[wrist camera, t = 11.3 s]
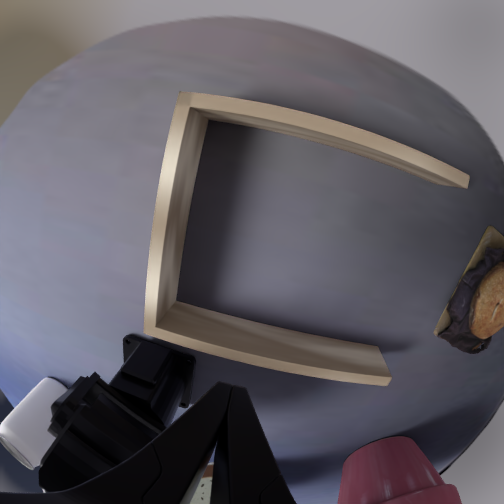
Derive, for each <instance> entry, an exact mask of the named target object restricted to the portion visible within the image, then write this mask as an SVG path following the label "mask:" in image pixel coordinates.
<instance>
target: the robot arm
mask: <svg viewBox="0 0 504 504" xmlns="http://www.w3.org/2000/svg"><path fill="white" fill-rule="evenodd" d="M128 340H129V341H130V342H129V341H128ZM123 355H124V364H123V365H122V367H121V369H120V370H119V371H118V373H117V374H116V375H115V376H114V378H113V379H112V380H111V382H110V383H109V384H107V383H106V382H105V381H103V380H102V379H101V378H100V376H99V375H98V374H97V373H96V372H94V373H93V374H92V375H91V376H90V377H88V376H87V377H82V376H80V377H79V379H78V380H77V381H76V382H75V383H74V384H73V385H72V386H71V388H70V389H69V390H67V391H66V392H65V393H64V394H63V395H61V396H60V397H59V398H58V399H57V400H56V401H54V403H53V404H52V405H51V413H52V418H51V420H50V422H51V425H50V426H49V428H48V430H47V431H48V432H49V433H50V434H51V435H52V436H54V437H55V438H56V439H55V440H54V442H53V443H52V445H51V446H50V447H49V449H48V450H47V452H46V453H45V455H44V456H43V457H42V459H41V461H40V470H39V486H40V487H41V488H42V489H43V493H11V492H0V504H190V502H191V500H192V498H193V496H194V494H195V492H196V489H197V487H198V485H199V483H200V481H201V478H202V476H203V474H204V472H205V469H206V467H207V465H208V463H209V460H210V458H211V456H212V454H213V451H214V448H215V446H216V449H215V456H214V465H213V475H212V485H211V495H210V504H297V503H296V502H295V500H294V498H293V497H292V495H291V493H290V491H289V489H288V487H287V485H286V482H285V480H284V478H283V476H282V475H280V474H281V471H280V469H279V467H278V465H277V462H276V460H275V458H274V455H273V453H272V451H271V448H270V446H269V444H268V441H267V439H266V436H265V434H264V431H263V429H262V427H261V424H260V422H259V419H258V417H257V414H256V412H255V409H254V407H253V404H252V401H251V399H250V396H249V394H248V391H247V389H246V388H245V387H241V386H237V385H233V386H232V385H231V384H230V383H226V382H222V381H219V382H217V383H216V384H215V385H214V386H213V387H212V388H211V389H210V390H209V391H208V392H207V393H206V394H204V395H203V396H202V397H201V398H200V399H199V400H198V401H197V402H196V403H195V404H194V405H192V406H191V407H190V408H189V409H188V410H187V411H186V412H185V413H183V414H182V415H181V416H180V417H179V418H178V419H177V420H176V421H174V422H173V423H172V424H171V422H172V420H173V418H174V415H175V413H176V411H177V408H178V406H179V407H182V408H188V406H189V404H190V397H191V390H192V383H193V376H194V369H195V363H196V360H195V358H194V357H193V356H191V355H188V354H184V353H181V352H178V351H175V350H172V349H168V348H165V347H162V346H159V345H156V344H153V343H151V342H148V341H145V340H142V339H139V338H137V337H134V336H131V335H126V336H125V337H124V338H123ZM187 360H189V361H191V362H188V361H187ZM216 443H217V444H216Z"/></svg>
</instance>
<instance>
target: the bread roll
mask: <svg viewBox="0 0 504 504" xmlns="http://www.w3.org/2000/svg"><path fill="white" fill-rule="evenodd" d="M449 325H450V326H449ZM448 326H449V327H448ZM503 326H504V236H502V235H501V234H500V233H499V232H498V231H497V230H496V229H495V228H494V227H493V226H488V227H487V229H486V231H485V233H484V234H483V236H482V238H481V240H480V242H479V245H478V247H477V248H476V251H475V252H474V254H473V256H472V258H471V260H470V262H469V264H468V266H467V267H466V269H465V271H464V273H463V275H462V277H461V279H460V280H459V283H458V285H457V287H456V289H455V291H454V293H453V294H452V296H451V298H450V300H449V302H448V304H447V306H446V308H445V310H444V312H443V314H442V316H441V317H440V320H439V322H438V323H437V325H436V327H435V328H437V329H435V330H434V334H435V335H437V337H440V338H442V339H445V340H446V341H448V342H449V343H450V344H451V345H452V347H457V348H458V349H460V350H461V351H463V352H467V353H470V354H476V353H479V352H480V351H483V350H484V349H487V347H488V345H489V344H490V341H491V337H492V335H493V334H495V333H496V332H497V331H499V330H500V329H501V328H502V327H503ZM482 341H483V342H484V344H483V345H481V349H480V348H478V346H479V345H480V344H482V343H483V342H482Z"/></svg>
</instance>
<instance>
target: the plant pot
mask: <svg viewBox="0 0 504 504" xmlns="http://www.w3.org/2000/svg"><path fill="white" fill-rule="evenodd" d="M338 504H462V503H461V500H460V496H459V493H458V491H457V488H456V487H455V486H454V485H452V484H445V483H444V481H443V480H442V478H441V477H440V475H439V474H438V472H437V471H436V469H435V468H434V467H433V465H432V464H431V462H430V461H429V460H428V458H427V457H426V456H425V455H424V453H423V452H422V451H421V449H420V448H419V447H418V446H417V444H416V443H415V442H414V441H413V440H412V439H411V438H409V437H404V436H397V437H389V438H385V439H381V440H378V441H375V442H372V443H370V444H368V445H365V446H363V447H362V448H360V449H358V450H356V451H355V452H354V453H352V454H351V455H350V456H349V457H348V458H347V459H346V460H345V462H344V464H343V470H342V478H341V485H340V491H339V498H338Z"/></svg>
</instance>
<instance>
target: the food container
mask: <svg viewBox="0 0 504 504" xmlns="http://www.w3.org/2000/svg"><path fill="white" fill-rule="evenodd" d="M213 465H214V462H212V463H208V465H207V467H206V469H205V472H204V474H203V476H202V478H201V481H200V483H199V485H198V487H197V489H196V492H195V494H194V496H193V498H192V500H191V502H190V504H210V495H211V485H212V475H213Z"/></svg>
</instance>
